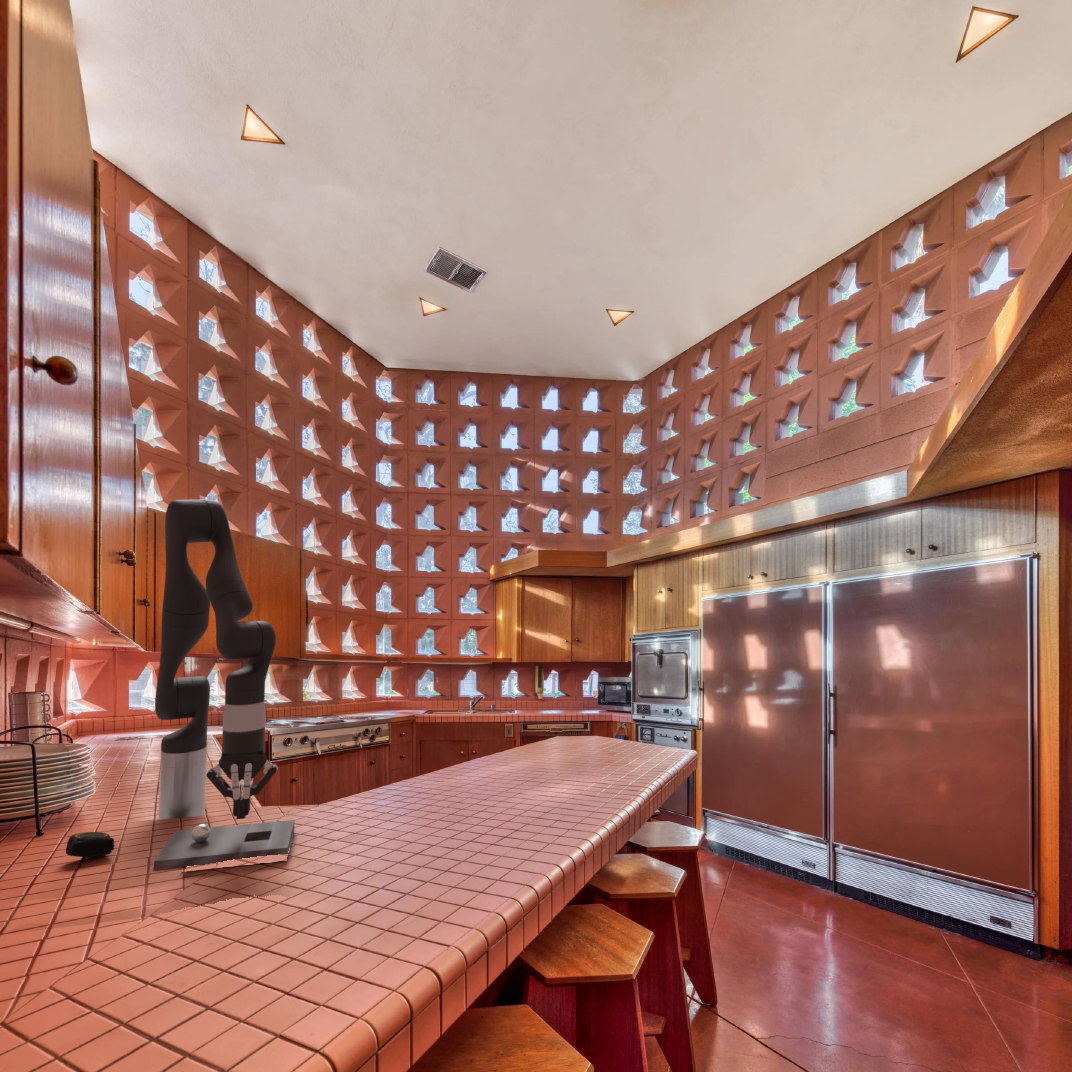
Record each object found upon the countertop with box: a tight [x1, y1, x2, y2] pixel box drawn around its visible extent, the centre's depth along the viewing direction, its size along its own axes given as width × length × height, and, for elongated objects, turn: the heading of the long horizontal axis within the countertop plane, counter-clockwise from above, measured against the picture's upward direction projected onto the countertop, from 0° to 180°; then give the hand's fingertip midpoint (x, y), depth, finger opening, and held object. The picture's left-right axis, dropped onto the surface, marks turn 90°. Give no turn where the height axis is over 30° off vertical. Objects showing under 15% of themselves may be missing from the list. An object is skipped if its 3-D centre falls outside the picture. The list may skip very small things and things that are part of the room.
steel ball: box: [192, 823, 211, 842], centre depth 123 cm, size 3×3×3 cm
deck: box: [153, 819, 295, 871], centre depth 124 cm, size 22×14×2 cm, turn 105°
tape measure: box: [65, 831, 116, 860], centre depth 121 cm, size 7×7×4 cm
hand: (241, 817), depth 125 cm, fingers closed
